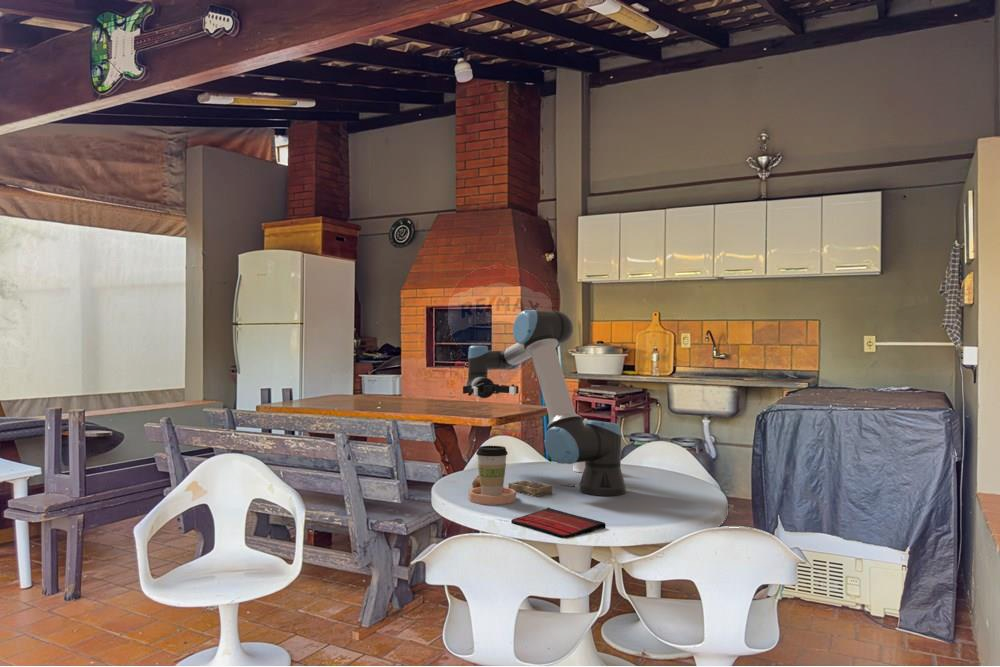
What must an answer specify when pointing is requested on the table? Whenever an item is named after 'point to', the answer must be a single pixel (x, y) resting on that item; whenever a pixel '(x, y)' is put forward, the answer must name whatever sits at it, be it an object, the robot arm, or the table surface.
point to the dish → (506, 496)
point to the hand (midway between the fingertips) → (496, 391)
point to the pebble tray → (530, 487)
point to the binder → (558, 523)
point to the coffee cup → (491, 469)
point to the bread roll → (476, 482)
